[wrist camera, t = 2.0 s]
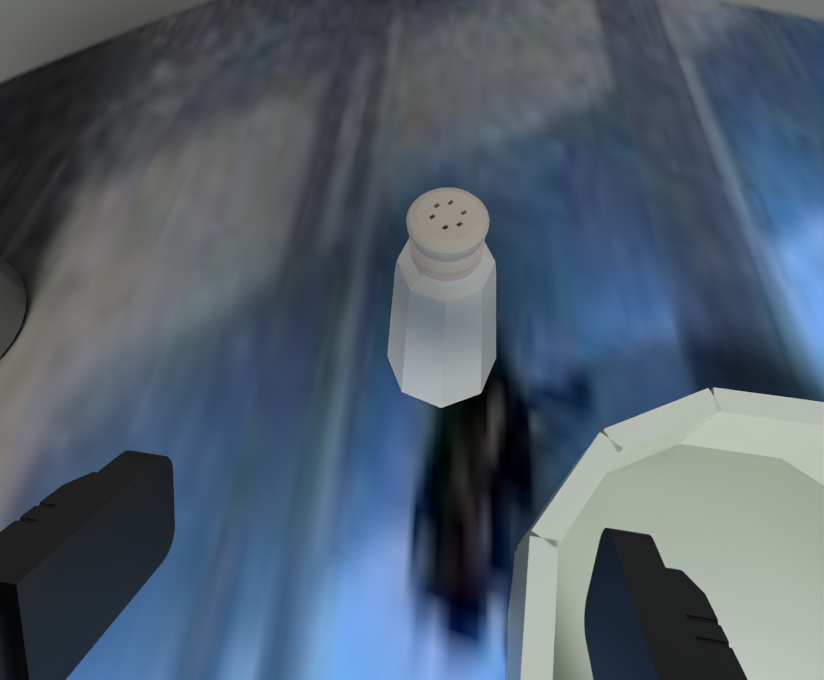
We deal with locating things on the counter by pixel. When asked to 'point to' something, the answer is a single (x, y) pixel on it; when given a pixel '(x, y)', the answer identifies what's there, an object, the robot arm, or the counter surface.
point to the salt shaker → (444, 300)
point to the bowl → (688, 531)
